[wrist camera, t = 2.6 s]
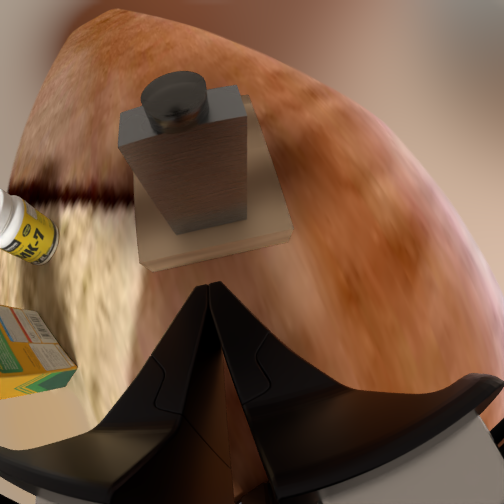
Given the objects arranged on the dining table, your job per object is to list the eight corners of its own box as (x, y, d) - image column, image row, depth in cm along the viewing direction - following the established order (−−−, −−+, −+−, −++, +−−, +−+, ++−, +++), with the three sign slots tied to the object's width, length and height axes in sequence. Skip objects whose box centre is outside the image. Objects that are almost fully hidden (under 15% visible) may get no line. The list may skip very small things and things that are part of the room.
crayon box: (24, 331, 19) (-65, 316, 8) (37, 310, 20) (-55, 286, 9) (65, 388, 18) (-30, 405, 7) (79, 368, 19) (-22, 377, 7)
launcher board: (287, 242, 22) (293, 228, 19) (153, 272, 21) (139, 263, 18) (248, 115, 26) (248, 94, 23) (142, 138, 25) (133, 120, 22)
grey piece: (247, 222, 19) (248, 95, 8) (176, 238, 18) (105, 131, 8) (240, 192, 20) (234, 60, 9) (172, 207, 19) (111, 90, 8)
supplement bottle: (38, 275, 21) (-21, 251, 13) (24, 244, 21) (-29, 214, 13) (66, 241, 22) (10, 205, 14) (50, 212, 22) (1, 173, 14)
